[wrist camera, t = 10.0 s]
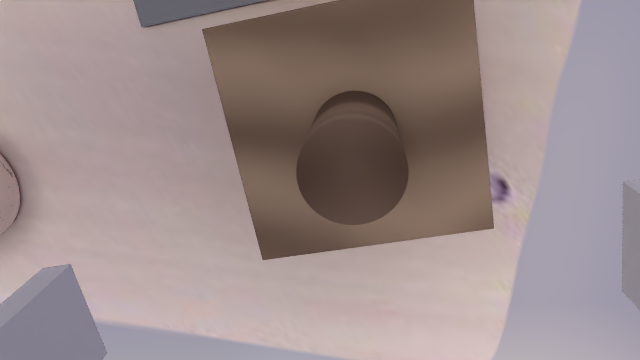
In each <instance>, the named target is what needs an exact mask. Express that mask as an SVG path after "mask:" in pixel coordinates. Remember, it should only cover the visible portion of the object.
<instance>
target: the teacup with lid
mask: <svg viewBox="0 0 640 360" xmlns="http://www.w3.org/2000/svg"><path fill="white" fill-rule="evenodd" d="M19 205H20V192H19V187H18V183H17V180H16V177H15V175H14V173H13V171H12V169H11V167H10V166H9V164H8V163H7V161H6V160H5V159H4V157H3V156H2V155H1V154H0V234H1V233H3V232H4V231H5V230H6V229H7V228H8V227H10V225H11V224H12V223H13V221H14V220H15V218H16V216H17V213H18V210H19Z"/></svg>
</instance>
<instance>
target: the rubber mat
mask: <svg viewBox="0 0 640 360" xmlns="http://www.w3.org/2000/svg"><path fill="white" fill-rule="evenodd" d="M263 1H267V0H134V4H135V7H136V10H137V14H138V17H139V20H140V24H141V27H147V26H152V25H156V24H161V23H165V22H170V21H175V20H179V19H184V18H189V17H193V16H198V15H202V14H207V13H212V12H216V11H221V10H226V9H230V8H235V7H239V6H244V5H249V4H253V3H258V2H263Z"/></svg>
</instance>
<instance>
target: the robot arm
mask: <svg viewBox="0 0 640 360" xmlns="http://www.w3.org/2000/svg"><path fill="white" fill-rule="evenodd" d="M622 247H623V248H622V252H623V253H622V291H623V292H624V293H625V294H626V295H627V297H628V298H629V299H630V300H631V301H632V302H633V303H634V304H635V305H636V306H637V308H638V309H639V310H640V180H633V181H627V182H623V244H622ZM106 354H107V351H106V349H105V346H104V344H103V342H102V339H101V337H100V334H99V332H98V330H97V327H96V325H95V322H94V320H93V317H92V315H91V313H90V310H89V308H88V305H87V303H86V301H85V298H84V296H83V293H82V291H81V288H80V286H79V284H78V281H77V279H76V276H75V274H74V272H73V269H72V267H71V264H68V265H61V266H55V267H48V268H43V269H42V270H40V271H39V272H38V273H37V274H36V275H34V276H33V277H32V278H31V279H30V280H29V281H27V282H26V283H25V284H24V285H23V286H21V287H20V288H19V289H18V290H17V291H16V292H14V293H13V294H12V295H11V296H10V297H8V298H7V299H6V300H5V301H4V302H3V303H1V304H0V360H102V359H103V358H104V357H105V355H106Z"/></svg>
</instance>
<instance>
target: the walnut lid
mask: <svg viewBox="0 0 640 360" xmlns="http://www.w3.org/2000/svg"><path fill="white" fill-rule="evenodd" d="M202 31H203V35H204V38H205V42H206V46H207V50H208V54H209V57H210V61H211V65H212V69H213V73H214V76H215V80H216V84H217V88H218V92H219V95H220V99H221V103H222V107H223V111H224V114H225V118H226V122H227V126H228V130H229V133H230V137H231V141H232V145H233V149H234V152H235V156H236V160H237V164H238V168H239V171H240V175H241V179H242V183H243V187H244V190H245V194H246V198H247V202H248V206H249V209H250V213H251V217H252V221H253V225H254V229H255V232H256V236H257V240H258V244H259V248H260V251H261V255H262V259H263V260H267V259H274V258H282V257H289V256H296V255H303V254H311V253H318V252H325V251H332V250H340V249H347V248H354V247H362V246H369V245H376V244H383V243H391V242H398V241H405V240H413V239H420V238H427V237H434V236H442V235H449V234H456V233H463V232H471V231H478V230H485V229H493V228H494V223H493V212H492V200H491V189H490V178H489V167H488V156H487V145H486V134H485V123H484V112H483V100H482V89H481V78H480V67H479V56H478V45H477V34H476V23H475V12H474V0H338V1H333V2H329V3H324V4H319V5H315V6H310V7H305V8H300V9H296V10H291V11H286V12H281V13H277V14H272V15H267V16H262V17H258V18H253V19H248V20H244V21H239V22H234V23H229V24H225V25H220V26H215V27H210V28H206V29H202Z"/></svg>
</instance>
